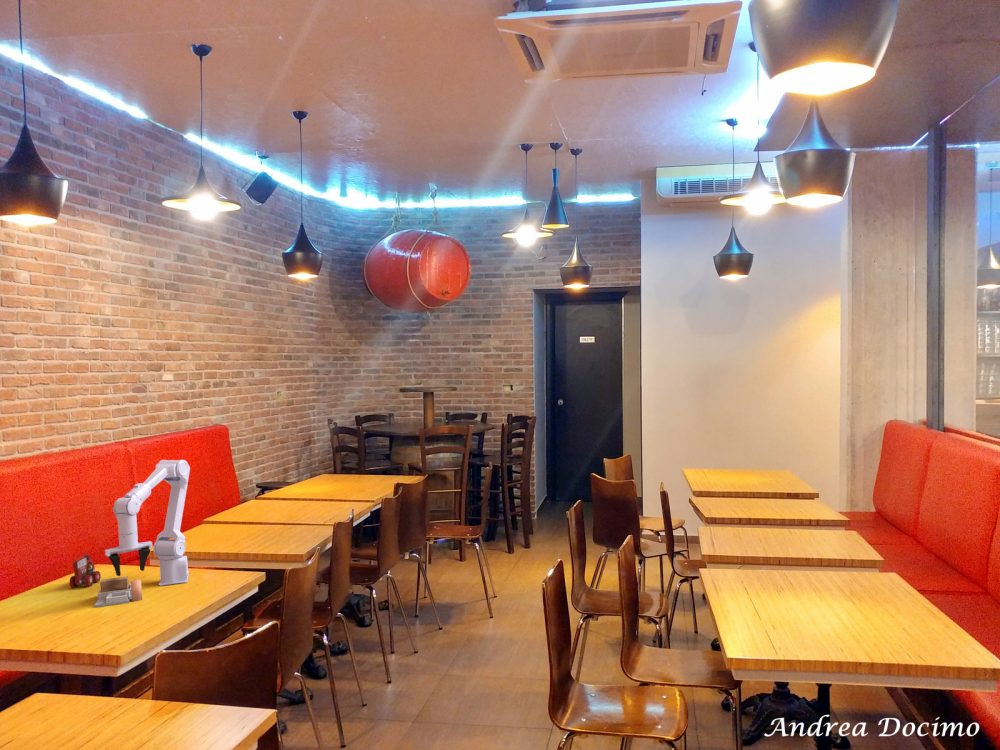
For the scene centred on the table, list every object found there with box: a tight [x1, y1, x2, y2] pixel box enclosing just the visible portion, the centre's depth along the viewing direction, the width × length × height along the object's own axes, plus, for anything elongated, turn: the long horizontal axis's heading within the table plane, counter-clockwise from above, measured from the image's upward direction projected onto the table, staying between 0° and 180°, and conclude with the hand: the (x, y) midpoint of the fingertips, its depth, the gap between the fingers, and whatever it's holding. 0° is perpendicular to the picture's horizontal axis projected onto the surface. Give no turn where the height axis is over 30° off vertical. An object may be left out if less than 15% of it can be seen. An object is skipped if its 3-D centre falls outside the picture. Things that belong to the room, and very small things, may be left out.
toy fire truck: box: [68, 554, 101, 588], centre depth 285 cm, size 7×12×10 cm, turn 0°
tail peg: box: [130, 579, 143, 602], centre depth 264 cm, size 3×3×6 cm
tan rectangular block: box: [99, 576, 130, 593], centre depth 269 cm, size 8×3×5 cm, turn 108°
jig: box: [93, 583, 132, 608], centre depth 266 cm, size 10×14×3 cm
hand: (130, 572), depth 265 cm, fingers open, 7 cm apart
